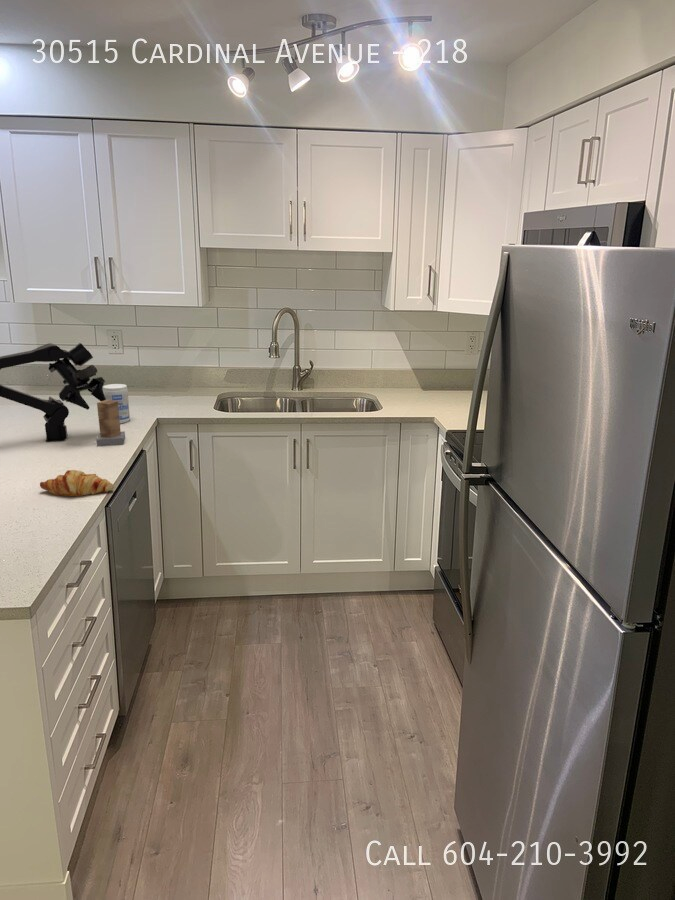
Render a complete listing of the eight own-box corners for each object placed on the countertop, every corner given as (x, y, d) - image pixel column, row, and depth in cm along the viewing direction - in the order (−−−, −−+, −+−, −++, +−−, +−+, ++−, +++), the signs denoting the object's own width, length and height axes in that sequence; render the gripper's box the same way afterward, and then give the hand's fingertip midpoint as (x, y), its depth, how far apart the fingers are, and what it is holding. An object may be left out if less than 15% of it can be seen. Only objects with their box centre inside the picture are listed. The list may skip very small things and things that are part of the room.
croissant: (118, 499, 194) (119, 472, 196) (108, 495, 184) (110, 467, 186) (45, 498, 193) (47, 472, 194) (31, 494, 183) (34, 466, 185)
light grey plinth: (97, 446, 233) (96, 439, 232) (99, 439, 241) (99, 432, 240) (123, 444, 235) (122, 438, 234) (125, 437, 243) (124, 431, 242)
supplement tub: (117, 425, 260) (113, 389, 255) (100, 422, 264) (96, 386, 260) (135, 420, 268) (132, 385, 263) (118, 417, 272) (115, 382, 268)
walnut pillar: (100, 436, 236) (96, 402, 232) (109, 432, 240) (106, 399, 237) (111, 437, 234) (108, 404, 230) (120, 434, 239) (117, 401, 235)
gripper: (61, 363, 224) (90, 397, 224) (98, 355, 241) (125, 386, 240) (46, 383, 229) (75, 417, 229) (83, 374, 246) (110, 405, 245)
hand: (97, 405), depth 236 cm, fingers open, 9 cm apart
